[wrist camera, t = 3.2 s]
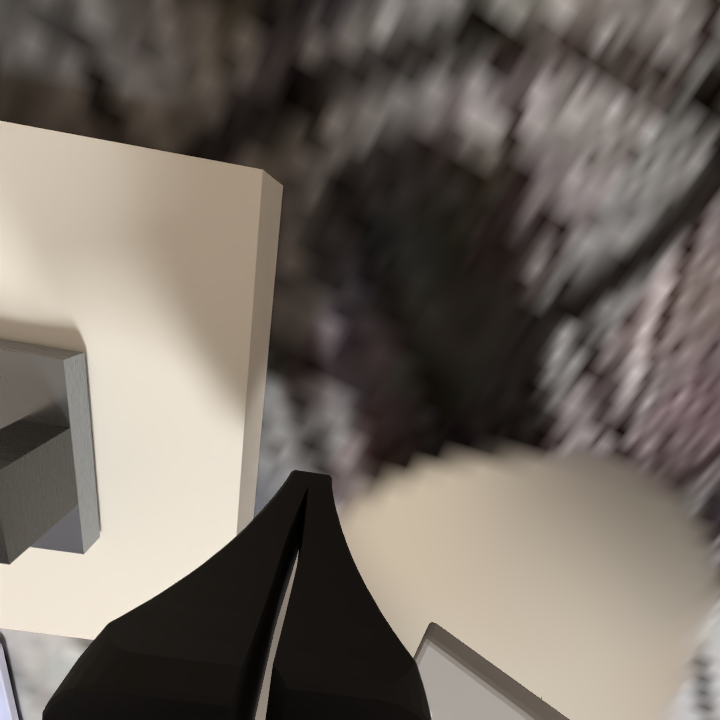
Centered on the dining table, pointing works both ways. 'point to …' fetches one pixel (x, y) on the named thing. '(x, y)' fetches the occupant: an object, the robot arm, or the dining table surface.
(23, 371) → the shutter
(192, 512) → the socket plate
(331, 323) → the dining table surface
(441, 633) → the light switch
